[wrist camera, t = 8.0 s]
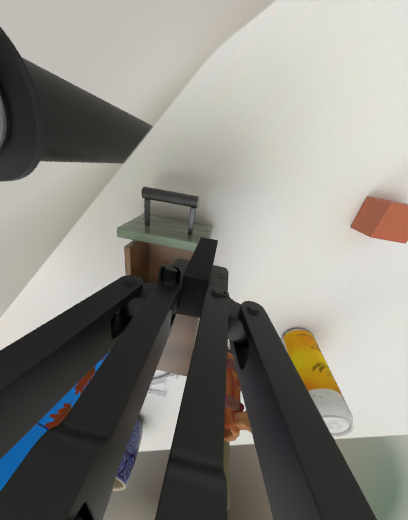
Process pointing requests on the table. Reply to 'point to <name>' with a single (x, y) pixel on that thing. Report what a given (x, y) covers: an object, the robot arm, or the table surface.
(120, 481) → the planter
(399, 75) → the table surface
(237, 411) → the mug
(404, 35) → the table surface
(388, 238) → the block
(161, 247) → the drawer
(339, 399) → the beer can
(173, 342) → the cabinet
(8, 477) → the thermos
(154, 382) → the crossbow
